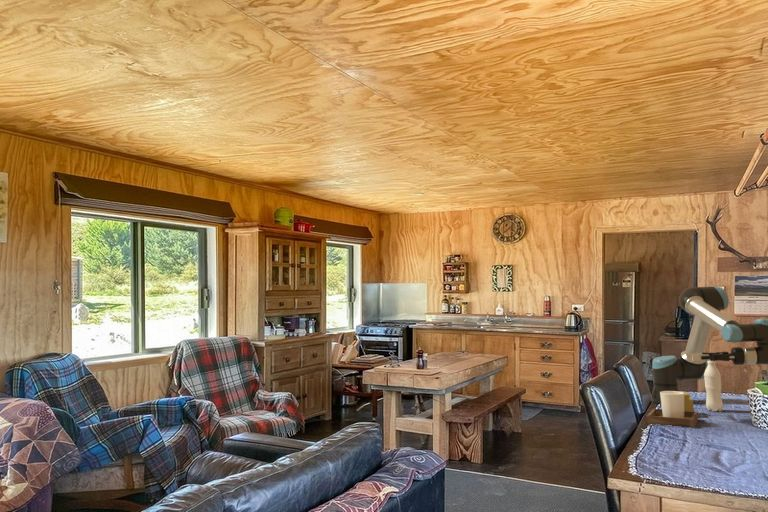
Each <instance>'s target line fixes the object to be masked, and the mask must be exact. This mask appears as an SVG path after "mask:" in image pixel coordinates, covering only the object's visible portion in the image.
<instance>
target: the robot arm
mask: <svg viewBox="0 0 768 512" xmlns="http://www.w3.org/2000/svg"><path fill="white" fill-rule="evenodd" d="M729 301H730V300H729V296H728V293H727V292H726V290H725V289H724V288H722V287H720V286H713V285H711V286H693V287H688V288H686V289H684V290H682V291H681V293H680V295H679V297H678V304H679V306H680V308H681V309H682V310H683V311H685V313H687V314H689V315H692V316H693V315H694V318H693V322H692V324H691V328H690V333H689V336H688V340H687V344H686V347H685V350H684V351H681V353H680V356H679V357H677V356H675V355H662V356H657V357H654V358H653V359H652V366H651V369H652V379H653V381H652V382H653V388H652V391H651V392H652V393H651V395H650V401H651V403H655V404H661V398H660V392H661V391H678V392H679V391H681V390H680V388H679V382H681V381H700V380H703V379H704V372H705V370H706V368H707V366H708V363H707V361H709V359H710V361H715V362H716V361H717V362H718V361H722V362H730V361H732V364H733V365H735V366H737V365H738V366H739V365H740V366H741V365H750V367H753V365H768V318H758V319H757V318H756V319H754V321H753V323H744V324H743V323H739V322H738V321H736V320H734V319H733V318H731V317H729V316H728V315H727V314H724V313H723V312H722V311H724V310H726V309H728V307H729V303H730V302H729ZM712 328H714V329H715V330H717V331H718V332H720V333H721V337H722V338H723V340H724V341H725V342H726V343H746V342H747V343H748V342H751V343H752V342H755V343H756V346H743V347H740V346H739V347H738V346H737V347H736V346H734V347H732V348H731V349H730V353H729V351H717V352H705V351H706V348H707V344H708V341H709V339H710V334H711V332H712Z"/></svg>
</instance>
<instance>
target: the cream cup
mask: <svg viewBox="0 0 768 512" xmlns="http://www.w3.org/2000/svg"><path fill="white" fill-rule="evenodd" d="M683 392H684V391H683ZM683 392H678V391H661V392H660V398H661V403H660V405H661V409H662V414H663V417H672V418H684V393H683Z"/></svg>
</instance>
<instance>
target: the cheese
mask: <svg viewBox="0 0 768 512" xmlns="http://www.w3.org/2000/svg"><path fill="white" fill-rule="evenodd" d="M679 392H683V393H684V411H693V412H696V410H695V408H694V400H693V398H692V396H691V395H690V394H689V393H688V392H685V391H682V390H680V391H679Z"/></svg>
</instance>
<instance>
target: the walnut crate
mask: <svg viewBox="0 0 768 512" xmlns="http://www.w3.org/2000/svg"><path fill="white" fill-rule="evenodd" d="M645 416H646V417H645V418H646V425H651V424H660V425H659V426H663V425H672V426H671V427H675V426H681V427H680V428H687V427H691V428H690V429H695V427H696V425H697V423H698V421H699V412H698V411H695V412H693V411H684V418H672V417H663V414H662V408H652V409H651V410H650V411H649V412H648V413H647V415H645Z"/></svg>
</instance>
